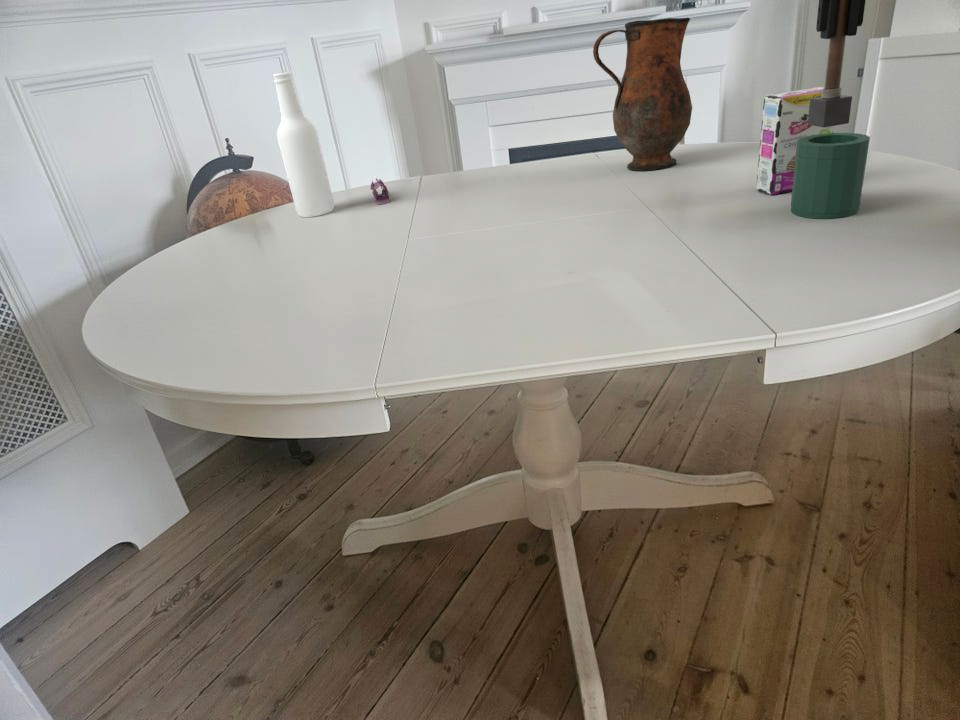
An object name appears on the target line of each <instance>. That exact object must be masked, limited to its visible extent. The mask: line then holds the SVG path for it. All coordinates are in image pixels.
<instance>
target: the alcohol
mask: <svg viewBox="0 0 960 720" xmlns="http://www.w3.org/2000/svg"><path fill="white" fill-rule="evenodd" d="M292 75H293V73H292V72H291V71H284V72H278V73H273V75H272V78H273V83H274V84H275V90H276V96H277V101H278V106H279V112H280V123H279V125H278V127H277V130H276V140H277V143H278V147H279V151H280V156H281V158H282V162H283V166H284V169H285V173H286V178H287V181H288V184H289V190H290V192H291V196H292V200H293V204H294V207H295V211H296V214H297V215H298V216H299V217H301V218H312V217H313V218H314V217H319V216H324V215H327V214H329V213H332V212H333V211H334V209H335V202H334V201H335V200H334V198H333V194H332V193H333V192H332V188H331V184H330V180H329V176H328V172H327V167H326V164H325V159H324V155H323V150H322V146H321V142H320V138H319V134H318V130H317V128H316V127H315V124H313V122H312V121H310V120H309V119H308V118H307V117H306V116H305V114H304V112H303V109H302V106H301V102H300V100H299V95H298V93H297V90H296V86H295V83H294V78H293V76H292Z"/></svg>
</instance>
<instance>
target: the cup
mask: <svg viewBox="0 0 960 720" xmlns="http://www.w3.org/2000/svg"><path fill="white" fill-rule="evenodd" d="M870 139H871V136H869V135H867V134H863V133H858V132H857V133H856V132H833V133H828V134H818V135H812V136H807V137H804V138H800V139H799V140H798V141H797V148H796V158H795V168H794V178H793V188H792V191H791V199H790V212H791V213H792V214H793V215H795V216H798V217H801V218H807V219H815V220H816V219H817V220H818V219H819V220H830V219H831V220H832V219H840V218H841V219H842V218H847V217H850V216H853V215H855V214H857V213H858V212H859V210H860V209H859V208H860V205H861V200H862V193H863V187H864V181H865V180H864V179H865V173H866V167H867V160H868V159H867V158H868V153H869V146H870Z"/></svg>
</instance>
